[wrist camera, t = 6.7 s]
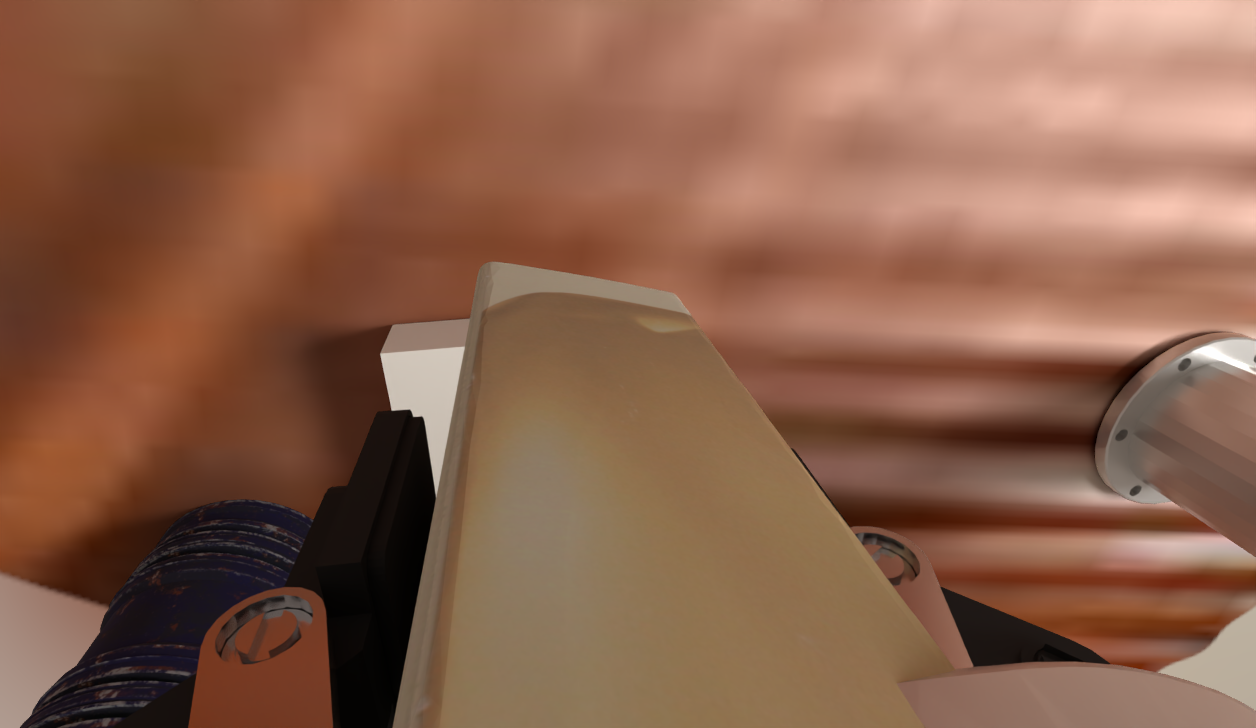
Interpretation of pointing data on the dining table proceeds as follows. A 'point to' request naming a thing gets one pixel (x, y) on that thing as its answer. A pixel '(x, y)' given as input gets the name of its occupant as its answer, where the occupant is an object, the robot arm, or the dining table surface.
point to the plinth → (426, 376)
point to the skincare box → (637, 538)
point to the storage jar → (174, 609)
